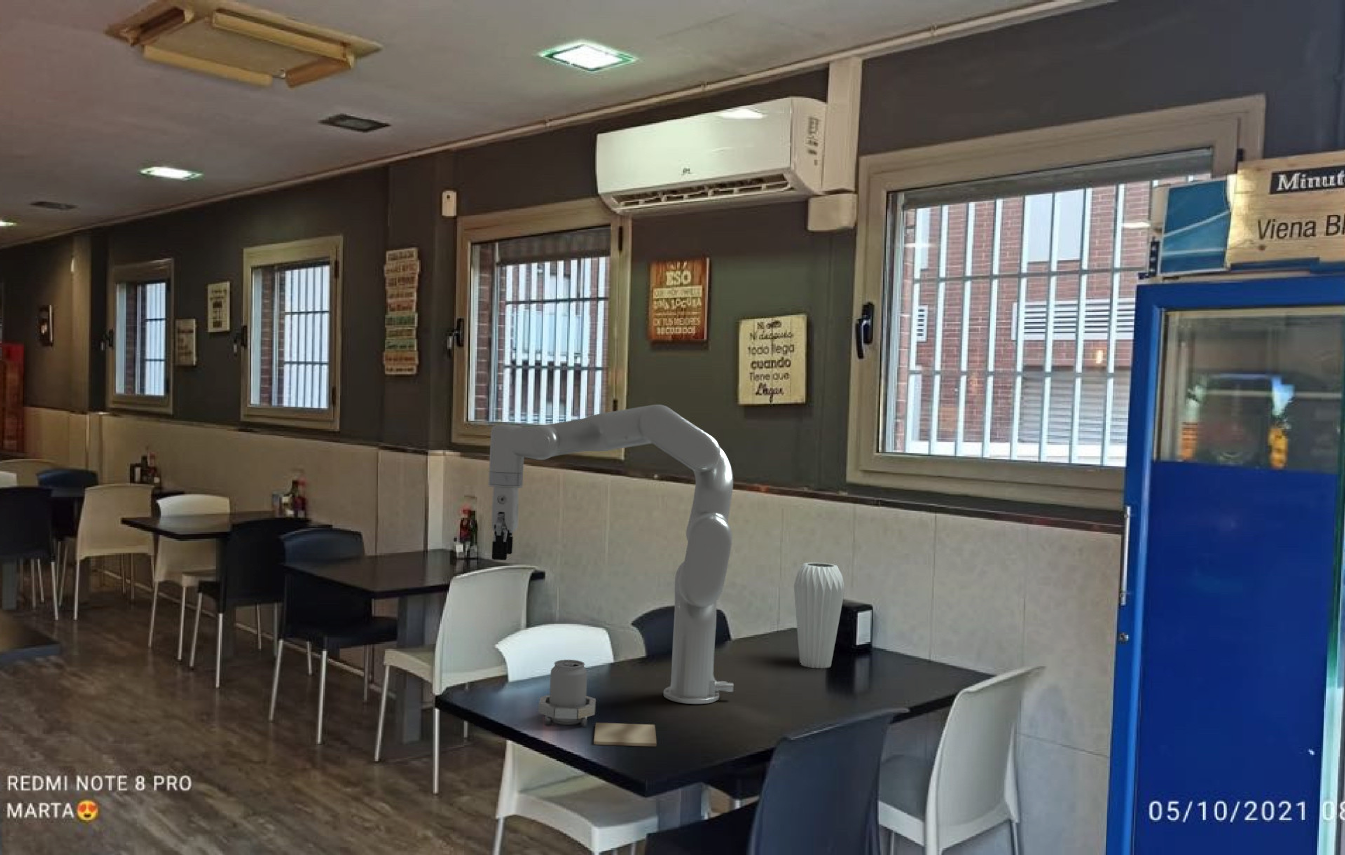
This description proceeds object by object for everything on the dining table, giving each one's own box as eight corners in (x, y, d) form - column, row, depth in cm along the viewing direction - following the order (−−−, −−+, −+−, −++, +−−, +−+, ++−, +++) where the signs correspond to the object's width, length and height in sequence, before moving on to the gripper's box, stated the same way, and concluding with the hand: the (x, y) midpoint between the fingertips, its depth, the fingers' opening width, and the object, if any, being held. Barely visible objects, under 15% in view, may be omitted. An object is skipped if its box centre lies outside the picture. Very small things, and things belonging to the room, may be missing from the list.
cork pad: (654, 727, 213) (654, 724, 213) (656, 746, 201) (656, 743, 201) (595, 725, 213) (595, 722, 213) (593, 744, 201) (593, 741, 201)
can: (579, 727, 211) (581, 668, 211) (543, 723, 213) (546, 664, 213) (589, 717, 219) (592, 660, 218) (555, 713, 220) (557, 656, 220)
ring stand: (595, 713, 222) (596, 694, 222) (593, 729, 210) (594, 709, 210) (541, 711, 221) (542, 692, 221) (536, 727, 210) (537, 707, 210)
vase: (805, 656, 285) (810, 559, 284) (849, 665, 277) (854, 565, 277) (780, 664, 274) (785, 564, 274) (826, 673, 266) (831, 570, 266)
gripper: (518, 483, 225) (514, 563, 226) (526, 478, 243) (523, 552, 243) (483, 482, 225) (479, 561, 225) (494, 477, 242) (490, 550, 243)
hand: (502, 556), depth 234 cm, fingers open, 9 cm apart
